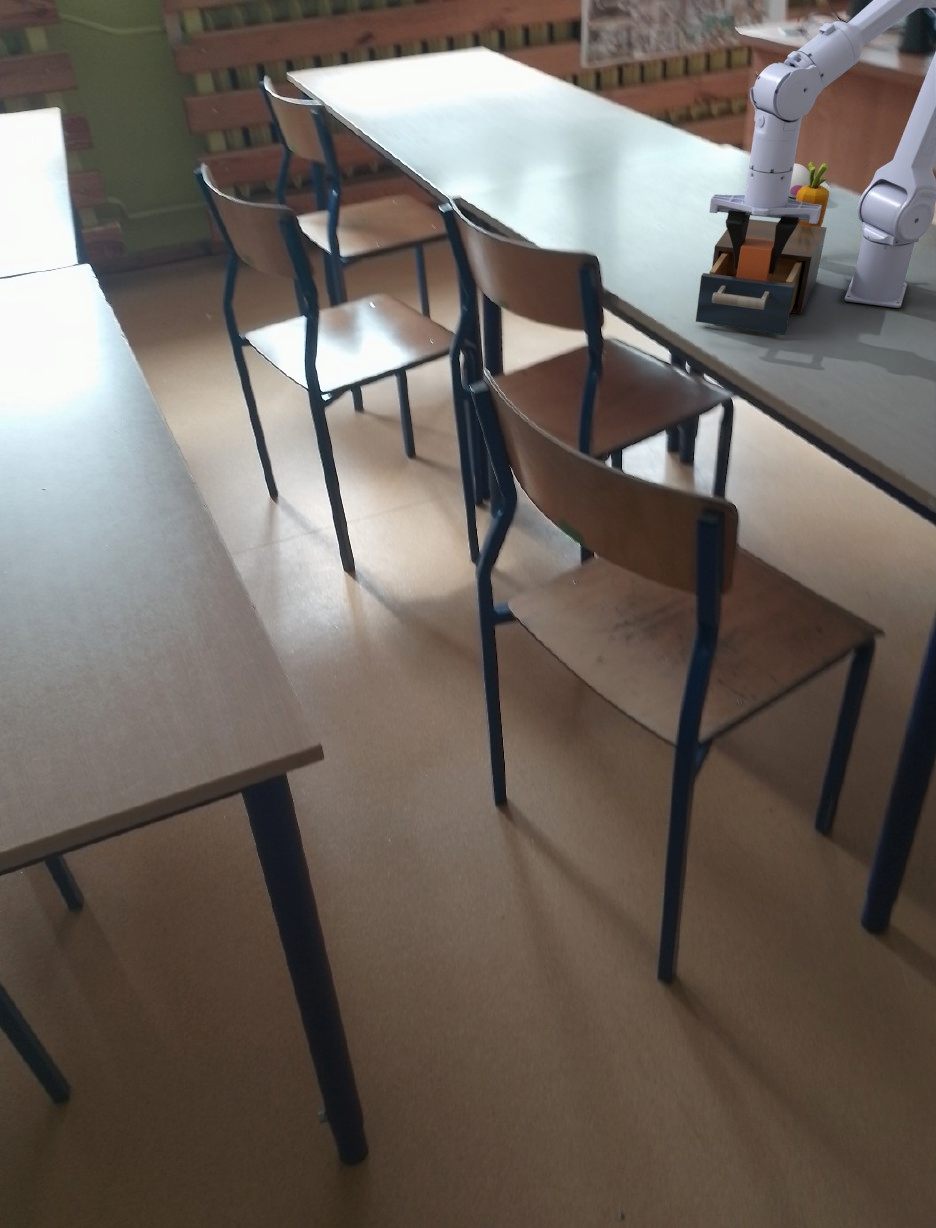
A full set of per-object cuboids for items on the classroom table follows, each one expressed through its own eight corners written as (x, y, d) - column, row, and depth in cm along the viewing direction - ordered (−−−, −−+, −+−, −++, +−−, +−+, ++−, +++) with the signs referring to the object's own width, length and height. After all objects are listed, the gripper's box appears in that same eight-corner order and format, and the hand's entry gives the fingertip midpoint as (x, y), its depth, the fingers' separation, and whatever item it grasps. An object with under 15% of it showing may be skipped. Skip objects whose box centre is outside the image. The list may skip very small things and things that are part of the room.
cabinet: (800, 314, 144) (811, 257, 139) (707, 301, 149) (714, 245, 144) (815, 282, 154) (826, 227, 148) (727, 271, 158) (735, 217, 153)
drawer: (778, 348, 134) (786, 300, 130) (687, 334, 138) (692, 287, 134) (800, 302, 146) (809, 256, 142) (715, 290, 150) (721, 246, 146)
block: (735, 282, 139) (740, 246, 136) (742, 272, 142) (747, 237, 139) (765, 286, 138) (771, 250, 135) (771, 275, 141) (777, 240, 138)
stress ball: (806, 218, 187) (831, 186, 184) (780, 198, 182) (804, 164, 179) (786, 205, 192) (809, 173, 189) (760, 184, 188) (783, 152, 185)
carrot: (783, 253, 164) (800, 157, 154) (814, 254, 163) (833, 157, 154) (787, 264, 160) (804, 166, 150) (818, 264, 159) (837, 166, 150)
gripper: (709, 170, 130) (697, 272, 139) (822, 181, 125) (802, 285, 134) (722, 156, 135) (709, 255, 144) (831, 166, 130) (811, 268, 139)
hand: (754, 269), depth 139 cm, fingers closed on block, 4 cm apart
